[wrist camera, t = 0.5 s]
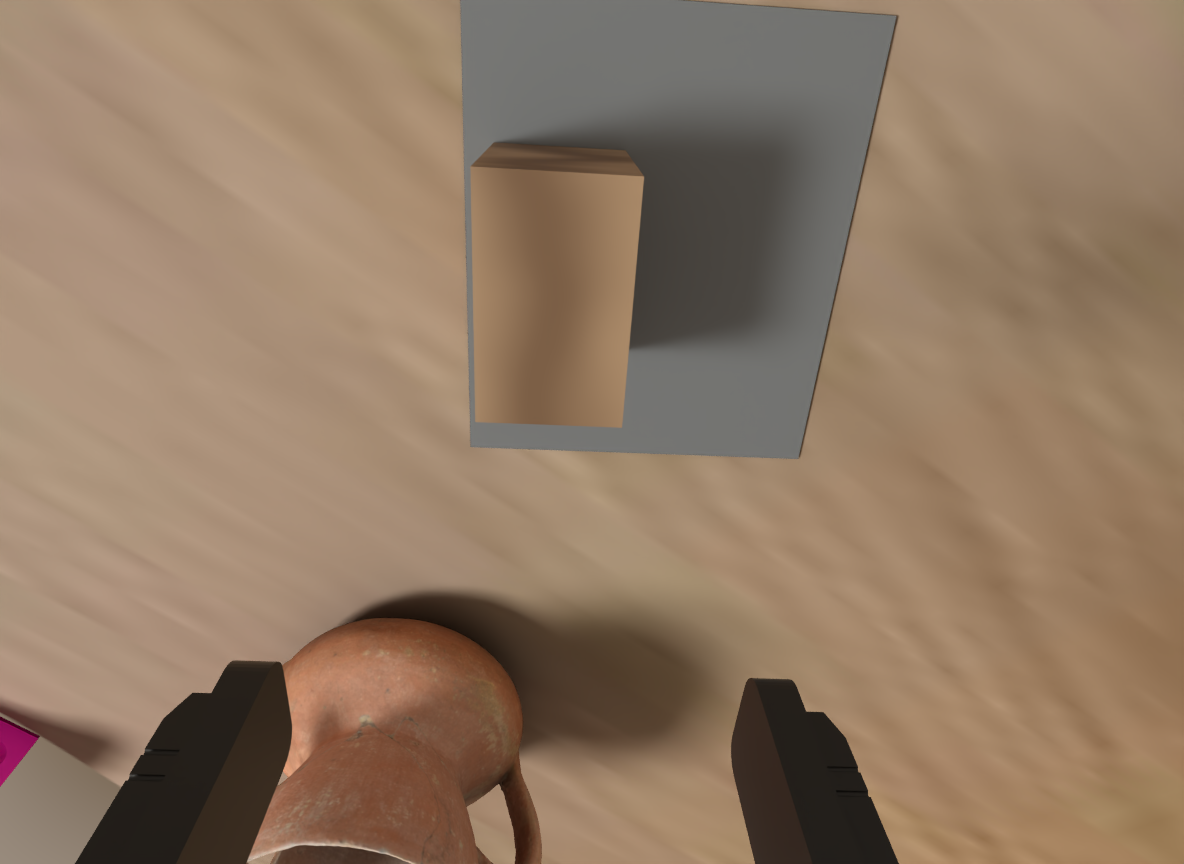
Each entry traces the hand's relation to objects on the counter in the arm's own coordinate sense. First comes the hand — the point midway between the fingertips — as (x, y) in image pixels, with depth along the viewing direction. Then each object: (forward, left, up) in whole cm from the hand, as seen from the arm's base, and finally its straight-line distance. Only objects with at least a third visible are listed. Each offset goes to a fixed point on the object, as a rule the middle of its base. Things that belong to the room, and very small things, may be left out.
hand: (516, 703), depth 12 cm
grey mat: (-5, -2, -23) cm, 24 cm away
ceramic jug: (+7, +25, -23) cm, 35 cm away
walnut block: (0, -2, -23) cm, 23 cm away
